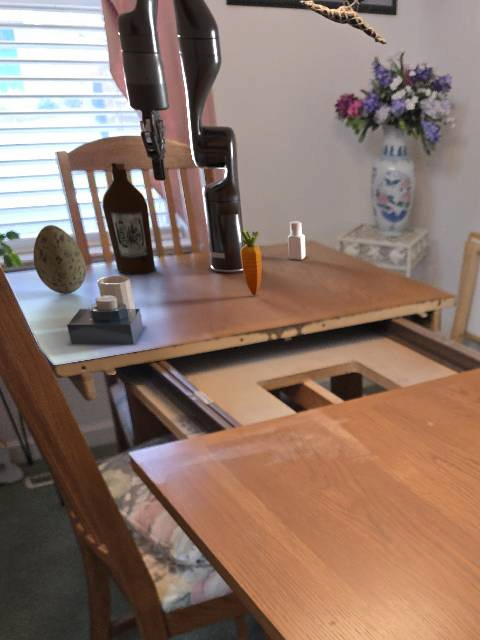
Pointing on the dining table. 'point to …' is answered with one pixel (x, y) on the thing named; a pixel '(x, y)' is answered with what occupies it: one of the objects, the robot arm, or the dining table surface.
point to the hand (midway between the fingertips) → (160, 179)
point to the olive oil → (128, 224)
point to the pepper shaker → (296, 241)
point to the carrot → (251, 262)
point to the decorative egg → (58, 260)
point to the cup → (117, 289)
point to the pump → (106, 302)
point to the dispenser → (105, 326)
